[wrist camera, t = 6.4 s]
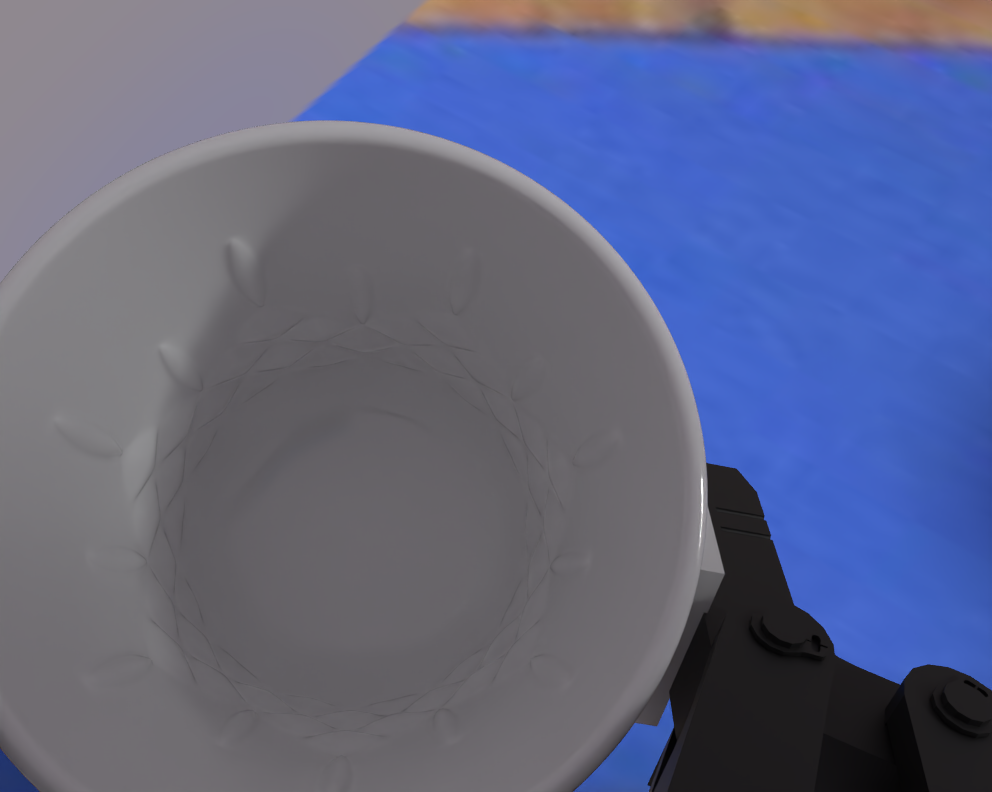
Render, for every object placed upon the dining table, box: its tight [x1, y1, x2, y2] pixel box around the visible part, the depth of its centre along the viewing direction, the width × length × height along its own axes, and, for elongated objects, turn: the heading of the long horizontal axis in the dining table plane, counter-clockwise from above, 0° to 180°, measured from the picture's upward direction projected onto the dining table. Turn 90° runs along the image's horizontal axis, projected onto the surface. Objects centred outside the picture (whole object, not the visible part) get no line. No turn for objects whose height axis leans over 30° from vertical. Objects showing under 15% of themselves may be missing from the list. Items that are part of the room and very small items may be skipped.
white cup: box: [0, 121, 708, 792], centre depth 14 cm, size 8×8×10 cm
